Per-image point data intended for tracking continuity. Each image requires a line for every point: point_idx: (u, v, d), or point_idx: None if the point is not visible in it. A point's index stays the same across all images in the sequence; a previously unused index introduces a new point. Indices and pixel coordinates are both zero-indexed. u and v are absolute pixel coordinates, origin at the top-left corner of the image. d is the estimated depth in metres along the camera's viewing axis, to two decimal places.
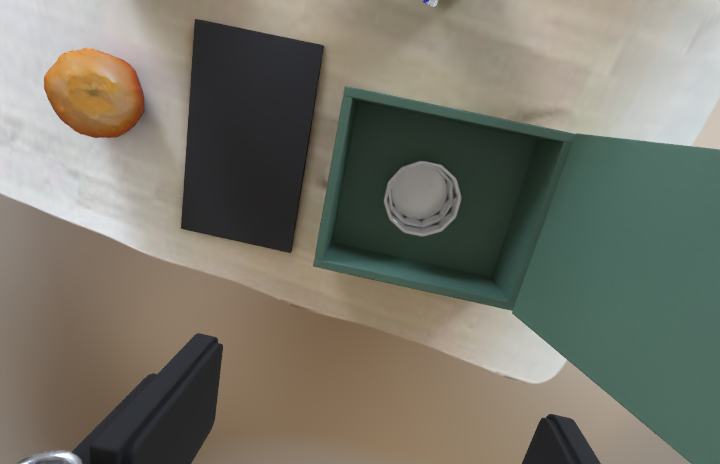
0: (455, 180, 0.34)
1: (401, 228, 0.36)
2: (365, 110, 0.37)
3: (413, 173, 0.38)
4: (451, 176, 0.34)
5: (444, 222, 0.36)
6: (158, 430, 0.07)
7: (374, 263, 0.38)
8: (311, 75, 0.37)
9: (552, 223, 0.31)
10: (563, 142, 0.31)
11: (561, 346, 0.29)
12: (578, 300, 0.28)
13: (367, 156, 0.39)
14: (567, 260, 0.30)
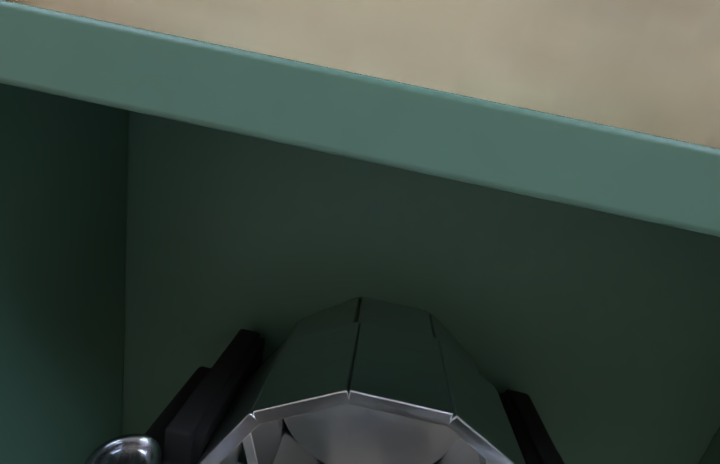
0: None
1: None
2: (160, 119, 0.10)
3: None
4: None
5: None
6: (219, 416, 0.08)
7: None
8: None
9: None
10: None
11: None
12: None
13: (189, 278, 0.11)
14: None
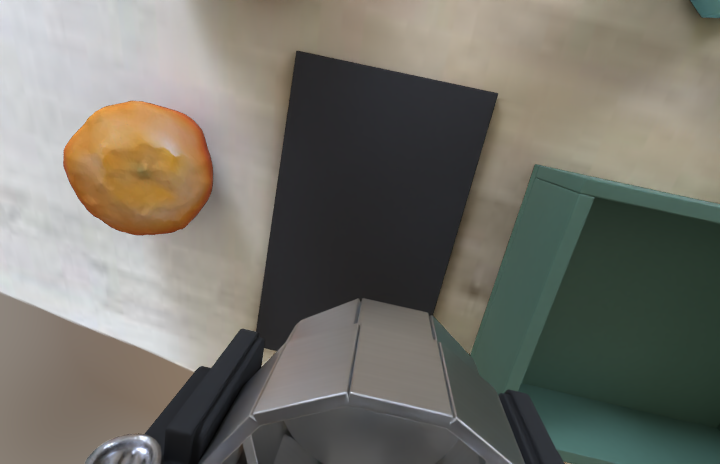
0: None
1: None
2: None
3: None
4: None
5: None
6: (219, 416, 0.08)
7: (565, 426, 0.25)
8: (474, 138, 0.24)
9: None
10: None
11: None
12: None
13: None
14: None
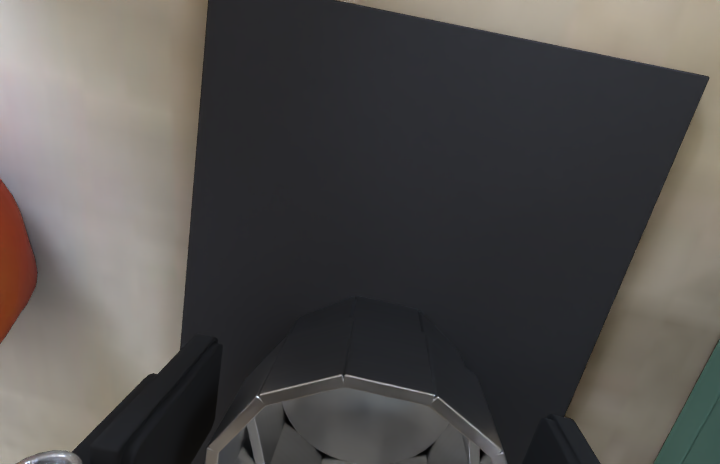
0: (498, 458, 0.08)
1: None
2: None
3: None
4: (481, 442, 0.07)
5: None
6: (158, 430, 0.07)
7: None
8: (637, 184, 0.10)
9: None
10: None
11: None
12: None
13: None
14: None
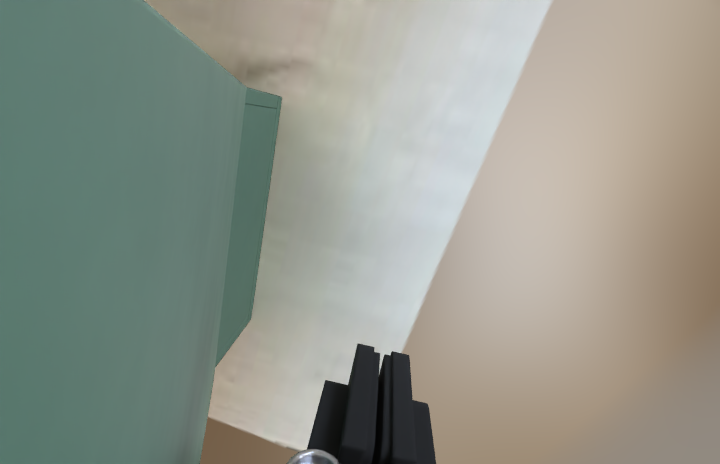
0: None
1: None
2: None
3: None
4: None
5: None
6: (373, 431, 0.09)
7: None
8: None
9: None
10: None
11: None
12: None
13: None
14: None
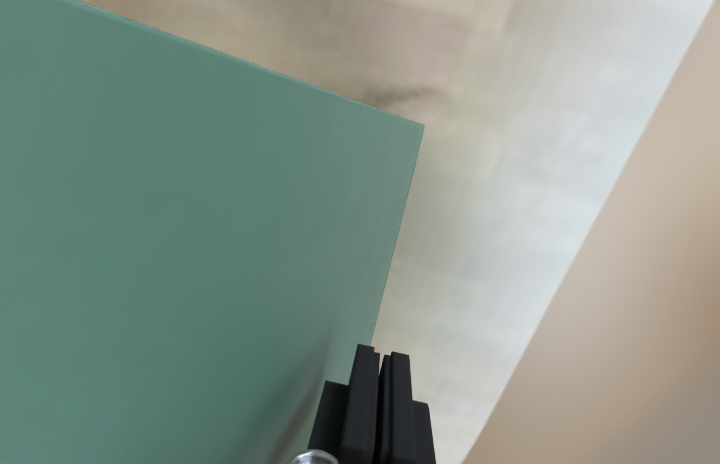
0: None
1: None
2: None
3: None
4: None
5: None
6: (373, 431, 0.09)
7: None
8: None
9: None
10: None
11: None
12: None
13: None
14: None
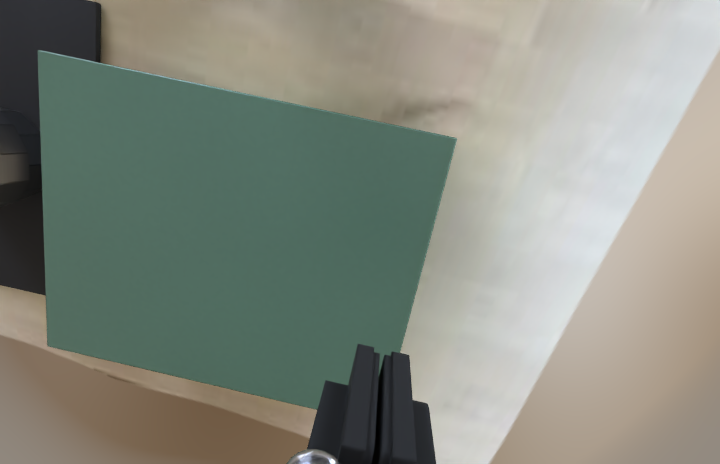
0: None
1: None
2: None
3: None
4: None
5: None
6: (373, 431, 0.09)
7: None
8: (86, 49, 0.25)
9: None
10: None
11: None
12: None
13: None
14: None
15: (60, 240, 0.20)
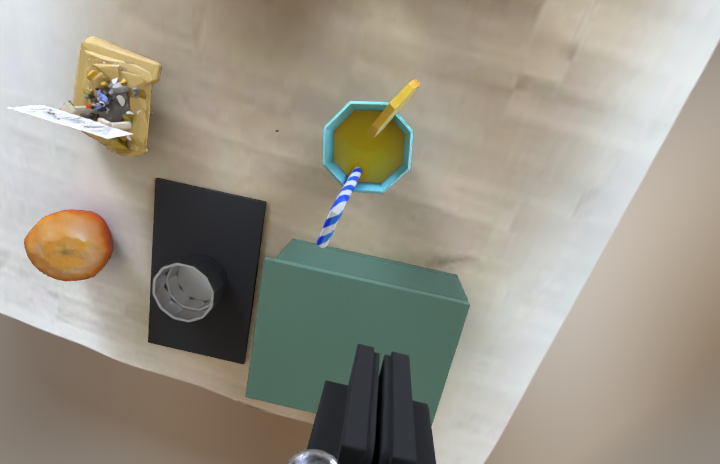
0: (206, 278, 0.41)
1: (170, 315, 0.42)
2: None
3: None
4: (202, 275, 0.41)
5: None
6: (373, 431, 0.09)
7: None
8: (256, 225, 0.43)
9: None
10: None
11: None
12: None
13: None
14: None
15: (262, 344, 0.39)
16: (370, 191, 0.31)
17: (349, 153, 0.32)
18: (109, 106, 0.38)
